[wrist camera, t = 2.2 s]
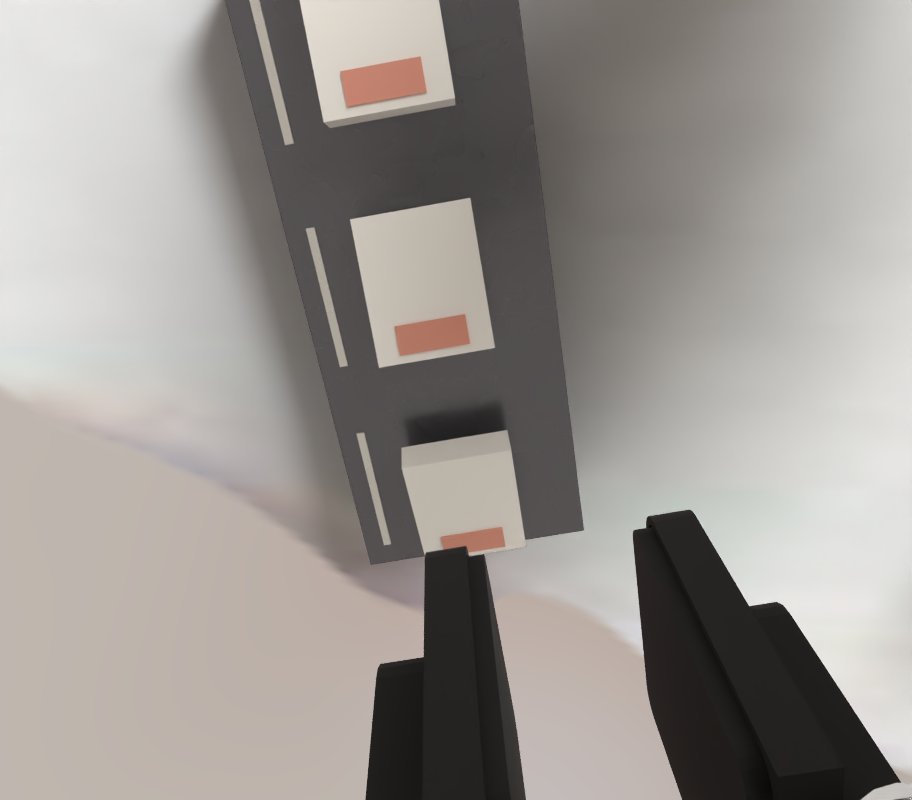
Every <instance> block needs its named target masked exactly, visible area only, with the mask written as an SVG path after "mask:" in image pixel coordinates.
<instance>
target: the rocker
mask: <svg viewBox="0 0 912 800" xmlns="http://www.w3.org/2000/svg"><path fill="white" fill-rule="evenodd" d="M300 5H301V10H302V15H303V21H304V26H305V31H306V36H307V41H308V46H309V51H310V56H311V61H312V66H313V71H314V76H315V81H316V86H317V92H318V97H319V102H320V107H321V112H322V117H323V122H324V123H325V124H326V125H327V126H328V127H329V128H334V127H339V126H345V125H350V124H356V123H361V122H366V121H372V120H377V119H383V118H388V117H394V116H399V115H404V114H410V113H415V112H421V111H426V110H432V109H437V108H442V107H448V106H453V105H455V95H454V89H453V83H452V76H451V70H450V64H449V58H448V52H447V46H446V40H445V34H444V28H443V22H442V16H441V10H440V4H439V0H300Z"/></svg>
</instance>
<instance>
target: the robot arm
mask: <svg viewBox="0 0 912 800" xmlns="http://www.w3.org/2000/svg"><path fill="white" fill-rule="evenodd" d="M633 543H634V554H635V565H636V575H637V586H638V597H639V607H640V618H641V629H642V639H643V650H644V660H645V671H646V680H647V681H646V682H647V690H648V696H649V701H650V705H651V709H652V713H653V716H654V719H655V722H656V725H657V728H658V731H659V733H660V736H661V739H662V742H663V745H664V748H665V751H666V754H667V757H668V760H669V763H670V766H671V768H672V771H673V774H674V777H675V780H676V783H677V786H678V789H679V792H680V794H681V797H682V800H912V783H901V782H900V780H899V779H898V777H897V776H896V774H895V773H894V771H893V769H892V768H891V766H890V765H889V763H888V762H887V760H886V759H885V757H884V756H883V754H882V753H881V751H880V750H879V748H878V747H877V745H876V744H875V742H874V741H873V739H872V738H871V736H870V735H869V733H868V732H867V730H866V728H865V727H864V725H863V724H862V722H861V721H860V719H859V718H858V716H857V715H856V713H855V712H854V710H853V709H852V707H851V706H850V704H849V703H848V701H847V700H846V698H845V697H844V695H843V694H842V692H841V691H840V689H839V688H838V686H837V684H836V683H835V681H834V680H833V678H832V677H831V675H830V674H829V672H828V671H827V669H826V668H825V666H824V665H823V663H822V662H821V660H820V659H819V657H818V656H817V654H816V653H815V651H814V650H813V648H812V647H811V645H810V643H809V642H808V640H807V639H806V637H805V636H804V634H803V633H802V631H801V630H800V628H799V627H798V625H797V624H796V622H795V621H794V619H793V618H792V616H791V615H790V613H789V612H788V611H787V610H786V608H785V607H784V606H783V605H781V604H780V603H778V602H774V603H767V604H761V605H755V606H749V605H748V604H747V602H746V600H745V599H744V597H743V595H742V594H741V592H740V590H739V588H738V587H737V585H736V583H735V582H734V580H733V578H732V577H731V575H730V573H729V572H728V570H727V568H726V567H725V565H724V563H723V561H722V560H721V558H720V556H719V555H718V553H717V551H716V550H715V548H714V546H713V545H712V543H711V541H710V540H709V538H708V536H707V534H706V533H705V531H704V529H703V528H702V526H701V524H700V523H699V521H698V519H697V518H696V516H695V514H694V513H693V512H692V511H691V510H685V511H678V512H672V513H666V514H660V515H654V516H648V517H647V521H646V528H644V529H638V530H634V531H633ZM366 800H526V797H525V789H524V782H523V774H522V767H521V759H520V752H519V743H518V737H517V729H516V722H515V716H514V710H513V705H512V700H511V694H510V689H509V683H508V678H507V673H506V667H505V662H504V657H503V651H502V646H501V640H500V635H499V630H498V624H497V619H496V614H495V608H494V603H493V598H492V592H491V587H490V581H489V576H488V571H487V565H486V560H485V556H484V554H483V555H477V556H470V557H469V553H468V549H467V547H466V546H462V547H456V548H450V549H444V550H437V551H431V552H426V553H425V597H424V657H423V658H416V659H410V660H403V661H397V662H390V663H384V664H380V666H379V667H378V671H377V677H376V687H375V699H374V711H373V721H372V733H371V744H370V755H369V767H368V778H367V790H366Z"/></svg>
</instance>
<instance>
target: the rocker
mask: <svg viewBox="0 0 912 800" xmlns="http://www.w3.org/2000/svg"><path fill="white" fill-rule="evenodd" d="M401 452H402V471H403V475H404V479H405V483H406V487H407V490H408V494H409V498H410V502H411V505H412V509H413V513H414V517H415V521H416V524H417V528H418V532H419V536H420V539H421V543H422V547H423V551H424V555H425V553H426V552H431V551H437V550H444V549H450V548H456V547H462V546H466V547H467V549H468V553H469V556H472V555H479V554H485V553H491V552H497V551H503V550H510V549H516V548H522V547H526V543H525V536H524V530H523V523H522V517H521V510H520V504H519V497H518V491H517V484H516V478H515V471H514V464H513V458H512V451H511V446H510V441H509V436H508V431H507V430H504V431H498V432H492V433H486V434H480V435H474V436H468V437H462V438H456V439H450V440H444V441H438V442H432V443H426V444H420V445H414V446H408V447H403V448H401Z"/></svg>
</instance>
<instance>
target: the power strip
mask: <svg viewBox="0 0 912 800" xmlns="http://www.w3.org/2000/svg"><path fill="white" fill-rule="evenodd" d="M225 1H226V5H227V9H228V13H229V17H230V21H231V25H232V28H233V32H234V36H235V40H236V44H237V48H238V52H239V56H240V59H241V63H242V67H243V71H244V75H245V79H246V83H247V87H248V90H249V94H250V98H251V102H252V106H253V110H254V114H255V118H256V121H257V125H258V129H259V133H260V137H261V141H262V145H263V149H264V152H265V156H266V160H267V164H268V168H269V172H270V176H271V179H272V183H273V187H274V191H275V195H276V199H277V203H278V207H279V210H280V214H281V218H282V222H283V226H284V230H285V234H286V238H287V241H288V245H289V249H290V253H291V257H292V261H293V265H294V269H295V272H296V276H297V280H298V284H299V288H300V292H301V296H302V300H303V303H304V307H305V311H306V315H307V319H308V323H309V327H310V331H311V334H312V338H313V342H314V346H315V350H316V354H317V358H318V362H319V365H320V369H321V373H322V377H323V381H324V385H325V389H326V392H327V396H328V400H329V404H330V408H331V412H332V416H333V420H334V423H335V427H336V431H337V435H338V439H339V443H340V447H341V451H342V454H343V458H344V462H345V466H346V470H347V474H348V478H349V482H350V485H351V489H352V493H353V497H354V501H355V505H356V509H357V513H358V516H359V520H360V524H361V528H362V532H363V536H364V540H365V544H366V547H367V551H368V555H369V559H370V563H371V565H372V564H378V563H384V562H391V561H397V560H403V559H409V558H415V557H422V556H425V555H424V551H423V547H422V543H421V539H420V536H419V532H418V528H417V524H416V521H415V517H414V513H413V509H412V505H411V502H410V498H409V494H408V490H407V487H406V483H405V479H404V475H403V471H402V452H401V448H403V447H408V446H414V445H420V444H426V443H432V442H438V441H444V440H450V439H456V438H462V437H468V436H474V435H480V434H486V433H492V432H498V431H504V430H507V431H508V436H509V441H510V446H511V451H512V458H513V464H514V471H515V478H516V484H517V491H518V497H519V504H520V510H521V517H522V523H523V530H524V536H525V540H527V539H533V538H539V537H545V536H552V535H558V534H564V533H570V532H576V531H582V530H584V528H583V520H582V512H581V503H580V495H579V487H578V479H577V471H576V463H575V455H574V447H573V439H572V431H571V422H570V414H569V406H568V398H567V390H566V382H565V374H564V366H563V358H562V350H561V341H560V333H559V325H558V317H557V309H556V301H555V293H554V285H553V277H552V269H551V260H550V252H549V244H548V236H547V228H546V220H545V212H544V204H543V196H542V188H541V179H540V171H539V163H538V155H537V147H536V139H535V131H534V123H533V115H532V107H531V99H530V90H529V82H528V74H527V66H526V58H525V50H524V42H523V34H522V26H521V18H520V9H519V1H518V0H439V4H440V10H441V16H442V22H443V28H444V34H445V40H446V46H447V52H448V58H449V64H450V70H451V76H452V83H453V89H454V95H455V105H453V106H448V107H442V108H437V109H432V110H426V111H421V112H415V113H410V114H404V115H399V116H394V117H388V118H383V119H377V120H372V121H366V122H361V123H356V124H350V125H345V126H339V127H334V128H329V127H328V126H327V125H326V124H325V123H324V122H323V117H322V112H321V107H320V102H319V97H318V92H317V86H316V81H315V76H314V71H313V66H312V61H311V56H310V51H309V46H308V41H307V36H306V31H305V26H304V21H303V15H302V10H301V5H300V0H225ZM466 198H470V199H471V206H472V212H473V218H474V224H475V230H476V236H477V242H478V248H479V254H480V260H481V266H482V272H483V278H484V284H485V290H486V297H487V303H488V309H489V315H490V321H491V327H492V333H493V339H494V345H495V348H492V349H486V350H480V351H474V352H469V353H463V354H457V355H451V356H445V357H439V358H434V359H428V360H422V361H416V362H410V363H404V364H399V365H393V366H387V367H381V368H379V365H378V360H377V355H376V350H375V345H374V340H373V335H372V330H371V324H370V319H369V314H368V309H367V304H366V299H365V294H364V289H363V284H362V278H361V273H360V268H359V263H358V258H357V253H356V248H355V243H354V237H353V232H352V227H351V222H350V219H355V218H360V217H366V216H371V215H377V214H383V213H388V212H394V211H399V210H405V209H410V208H416V207H422V206H427V205H433V204H438V203H444V202H449V201H455V200H461V199H466Z"/></svg>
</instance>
